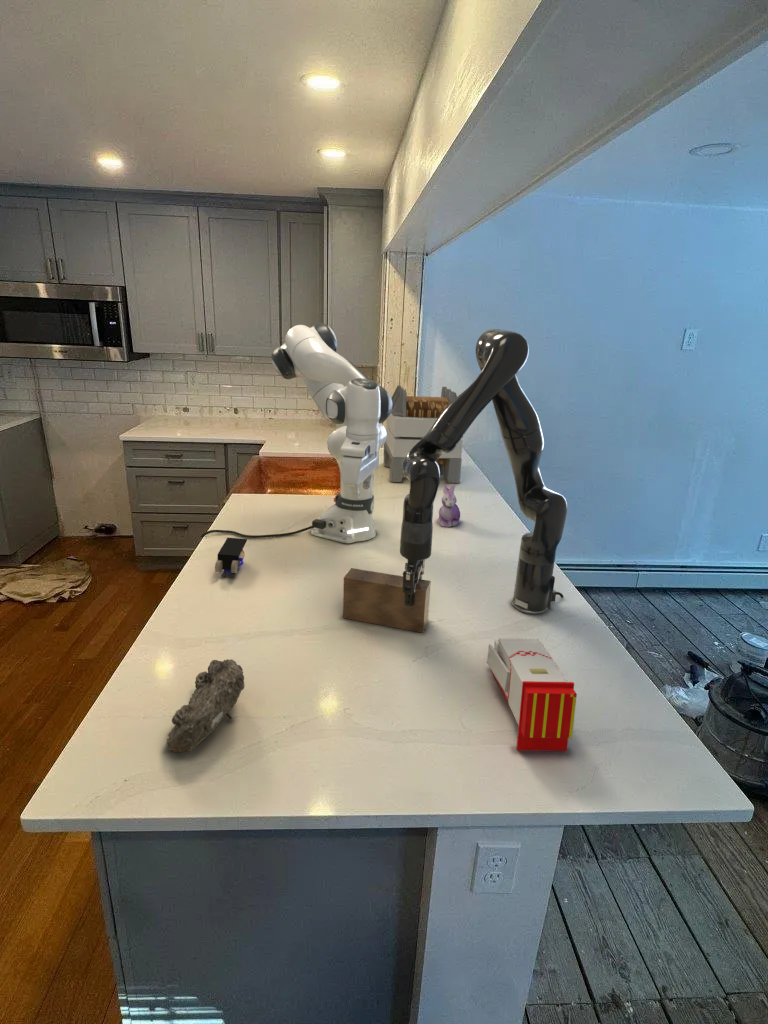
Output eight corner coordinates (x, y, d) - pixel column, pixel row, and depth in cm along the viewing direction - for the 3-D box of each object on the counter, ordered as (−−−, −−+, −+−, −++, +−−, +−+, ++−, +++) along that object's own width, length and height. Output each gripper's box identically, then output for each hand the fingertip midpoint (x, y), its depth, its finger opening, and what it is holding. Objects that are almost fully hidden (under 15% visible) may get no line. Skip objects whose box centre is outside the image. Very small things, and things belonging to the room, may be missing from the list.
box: (342, 617, 144) (343, 577, 140) (350, 607, 150) (351, 567, 146) (422, 632, 139) (426, 591, 135) (427, 621, 144) (430, 580, 141)
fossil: (192, 660, 117) (244, 628, 112) (224, 691, 120) (276, 661, 115) (142, 746, 98) (202, 712, 93) (182, 779, 101) (242, 748, 96)
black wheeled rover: (238, 584, 162) (249, 557, 175) (236, 562, 158) (247, 536, 172) (215, 584, 161) (227, 556, 175) (212, 561, 158) (225, 535, 171)
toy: (536, 621, 128) (586, 689, 98) (531, 676, 131) (578, 758, 101) (482, 620, 127) (517, 688, 98) (478, 675, 130) (511, 757, 101)
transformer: (382, 463, 289) (386, 382, 275) (445, 464, 293) (451, 384, 279) (390, 482, 257) (394, 392, 243) (460, 483, 261) (468, 394, 247)
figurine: (445, 529, 206) (449, 489, 200) (430, 519, 214) (433, 481, 209) (467, 525, 210) (470, 487, 205) (451, 516, 218) (454, 479, 213)
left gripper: (363, 434, 158) (362, 481, 163) (337, 450, 140) (337, 503, 145) (385, 436, 157) (383, 484, 162) (362, 452, 138) (360, 506, 143)
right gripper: (425, 550, 127) (420, 616, 133) (437, 528, 140) (433, 589, 146) (393, 545, 129) (390, 610, 135) (408, 524, 142) (404, 584, 148)
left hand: (361, 493), depth 153 cm, fingers open, 8 cm apart
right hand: (412, 599), depth 140 cm, fingers closed on box, 6 cm apart
